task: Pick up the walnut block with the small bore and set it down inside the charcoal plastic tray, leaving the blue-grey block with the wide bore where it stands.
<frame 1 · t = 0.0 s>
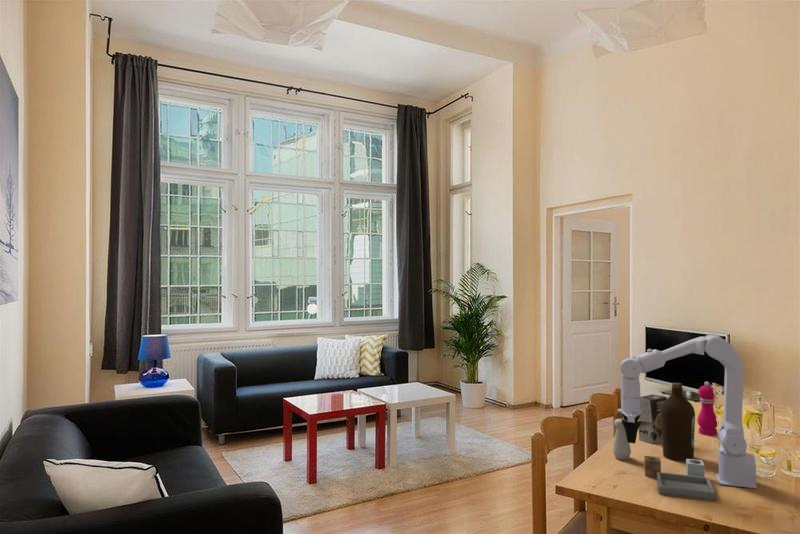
hand: (631, 439, 178), 10 cm above the table, tool pointing down, fingers open, 7 cm apart
olive oil: (678, 457, 190), on the table
tray: (684, 489, 162), on the table
coffee box: (653, 440, 209), on the table
wide bore block: (695, 478, 171), on the table
salt shaker: (621, 458, 190), on the table
small bore block: (652, 474, 175), on the table
pepper mill: (707, 433, 216), on the table
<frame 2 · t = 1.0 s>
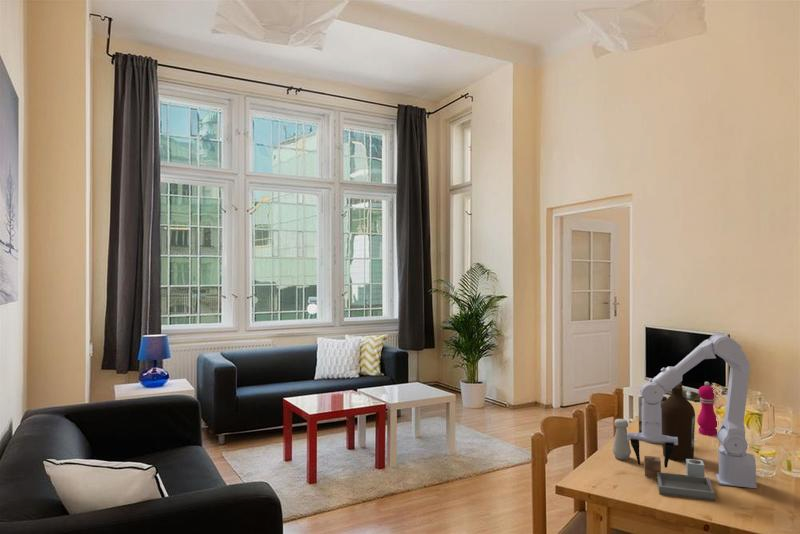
hand: (652, 465, 175), 3 cm above the table, tool pointing down, fingers open, 7 cm apart
nothing on the table moved.
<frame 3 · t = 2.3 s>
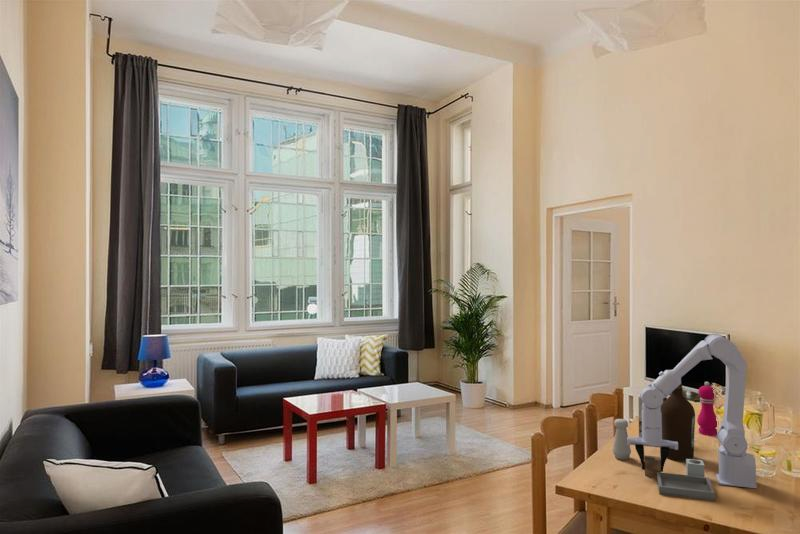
hand: (652, 469, 175), 1 cm above the table, tool pointing down, fingers closed on small bore block, 4 cm apart
small bore block: (652, 474, 175), on the table, touching gripper
everything else where it was.
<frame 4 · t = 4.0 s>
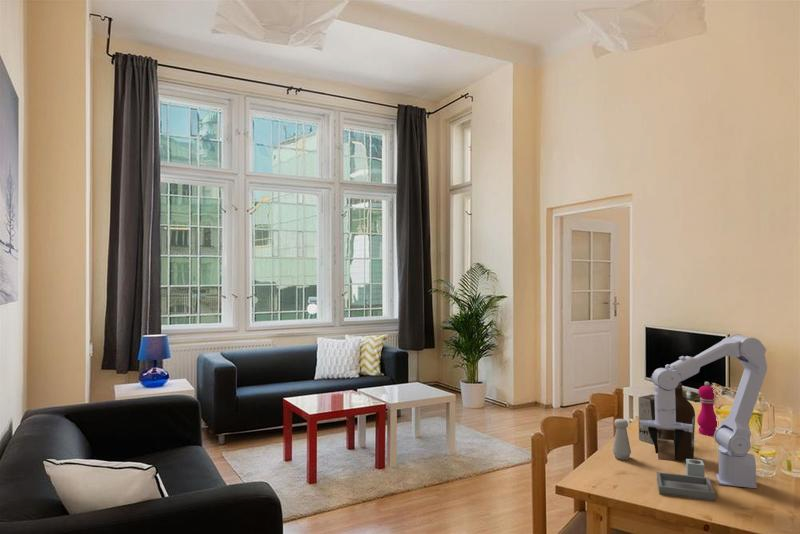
hand: (666, 453, 169), 8 cm above the table, tool pointing down, fingers closed on small bore block, 4 cm apart
small bore block: (666, 458, 169), point 7 cm above the table, touching gripper
everything else where it was.
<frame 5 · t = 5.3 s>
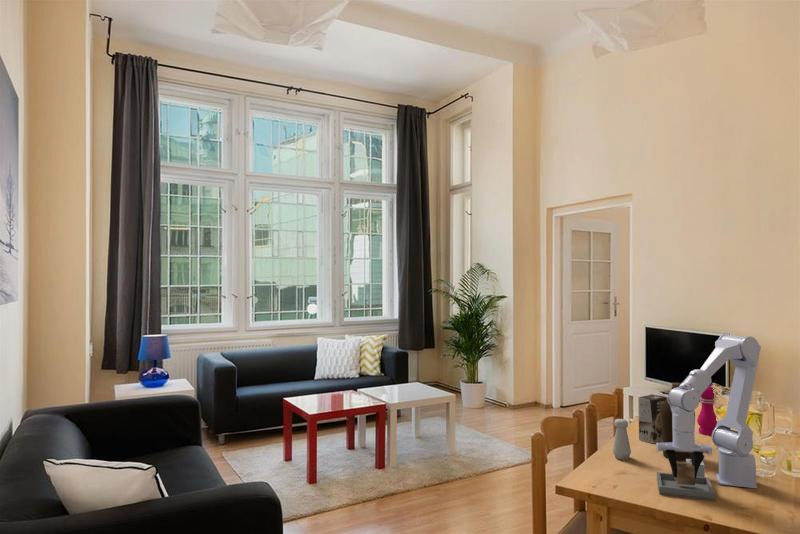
hand: (684, 476, 162), 4 cm above the table, tool pointing down, fingers closed on small bore block, 4 cm apart
small bore block: (684, 481, 163), point 2 cm above the table, touching gripper
everything else where it was.
when the fingers open (3 cm above the table, at t = 6.2 s): small bore block drops 1 cm, resting on tray.
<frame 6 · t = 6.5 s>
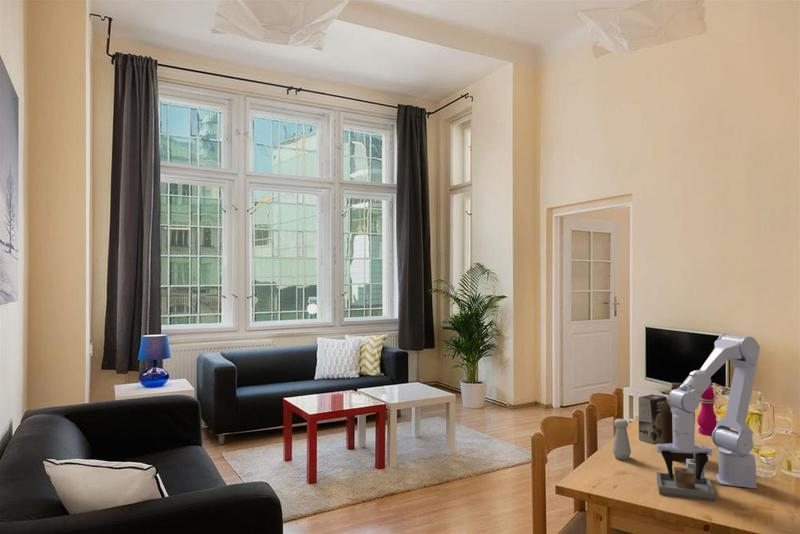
hand: (684, 477, 162), 3 cm above the table, tool pointing down, fingers open, 7 cm apart
small bore block: (684, 487, 163), point 1 cm above the table, touching tray
everything else where it was.
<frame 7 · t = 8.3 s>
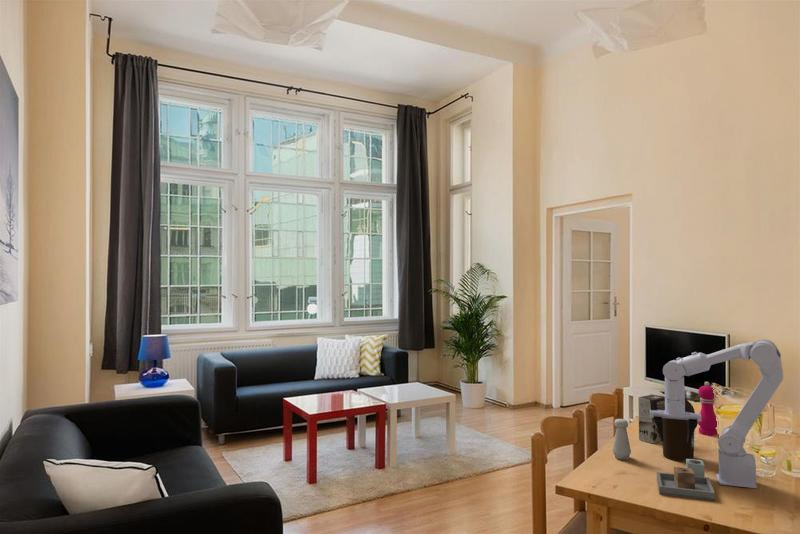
hand: (675, 441, 177), 9 cm above the table, tool pointing down, fingers open, 7 cm apart
nothing on the table moved.
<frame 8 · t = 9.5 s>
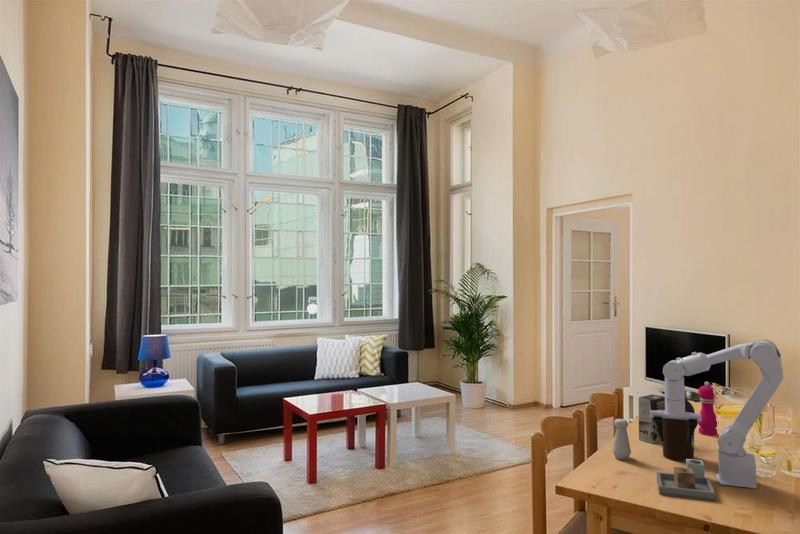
hand: (675, 441, 177), 9 cm above the table, tool pointing down, fingers open, 7 cm apart
nothing on the table moved.
at the end: small bore block inside the target area on the tray (0.0 cm from its centre), point 0.6 cm above the tray's base; small bore block tilted 0°; wide bore block moved 0.1 cm from its start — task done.
